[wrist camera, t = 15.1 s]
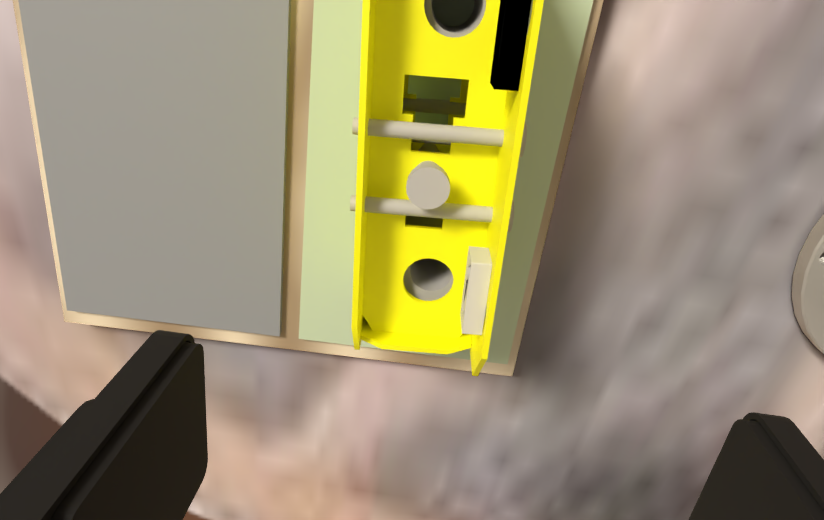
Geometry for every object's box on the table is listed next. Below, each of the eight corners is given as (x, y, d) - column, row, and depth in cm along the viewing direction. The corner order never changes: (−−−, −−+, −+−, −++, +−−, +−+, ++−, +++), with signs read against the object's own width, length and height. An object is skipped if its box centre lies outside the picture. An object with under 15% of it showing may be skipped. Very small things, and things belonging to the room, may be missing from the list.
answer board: (618, -96, 22) (631, -102, 21) (509, 363, 32) (513, 380, 30) (4, -182, 22) (-26, -194, 20) (77, 310, 31) (59, 325, 30)
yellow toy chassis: (477, 292, 28) (493, 402, 21) (363, 283, 28) (336, 389, 21) (530, -82, 21) (583, -124, 14) (379, -95, 21) (349, -144, 14)
